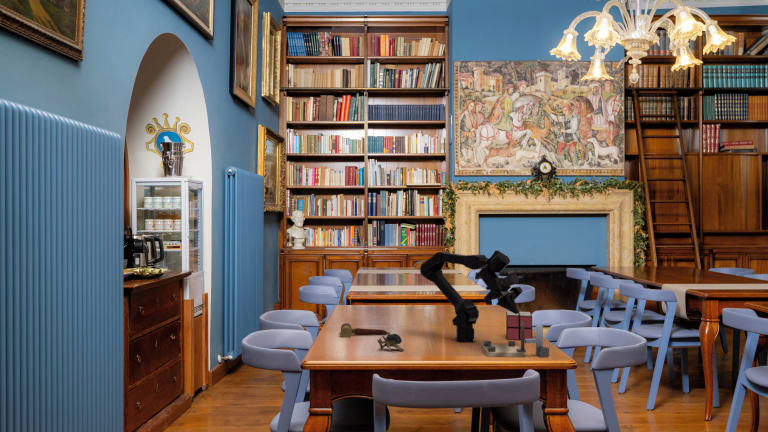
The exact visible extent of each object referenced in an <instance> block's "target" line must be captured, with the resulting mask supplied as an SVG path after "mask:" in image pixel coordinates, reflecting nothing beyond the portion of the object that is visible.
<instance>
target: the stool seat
mask: <svg viewBox="0 0 768 432" xmlns="http://www.w3.org/2000/svg"><path fill="white" fill-rule="evenodd" d="M507 343H508V344H492V341H491V340H484V341H483V343H482V344H480V348H481V350H482V352H483V353H484V355H485V356H486V357H487V358H494V357H495V358H503V357H504V358H525V354H526V349H525V344H526V343H525V338H524V321H521V340H520V347H519V346H518V345H517V344H516V340H508V341H507Z"/></svg>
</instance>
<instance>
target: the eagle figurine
mask: <svg viewBox="0 0 768 432" xmlns="http://www.w3.org/2000/svg"><path fill="white" fill-rule="evenodd" d="M381 336H382V337H379V338H377V340H376V341H377V342H378V344H379V347H380V350H381V351H382V350H383V349H384V348H387V350H388V353H390V352H391V347H393V348H395V349H398V350H399V351H400V352H405V349H403V348H402V347H401V346H400V344H401V343H402V342H403V340H402V338H401V336H400V335H399V334H397V333H390V334H388V335H386V337H385V335H381ZM382 339H383V340H382Z"/></svg>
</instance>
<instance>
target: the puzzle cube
mask: <svg viewBox="0 0 768 432" xmlns="http://www.w3.org/2000/svg"><path fill="white" fill-rule="evenodd" d="M532 315H533V314H532V313H531V312H530V311H518V314H515V313H513V312H511V311H509V310H507V311H506V313H505V317H506V321H505V322H506V325H505V329H506V330H505V335H506V336H505V337H506V340H508V341H521V321H524V338H525V339H533V316H532Z"/></svg>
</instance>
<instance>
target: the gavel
mask: <svg viewBox="0 0 768 432" xmlns="http://www.w3.org/2000/svg"><path fill="white" fill-rule="evenodd" d="M339 333H340V337H342V338H345V339H346V338H347V339H348V338H351V336H352V334H353V335H362V336H388V335H391V331H388V330H385V329H378V328H377V329H376V328H375V329H373V328H358V327H357V328H352V325H351V324H350V323H347V322H344V323H343V324H341V326H340V332H339Z"/></svg>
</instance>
